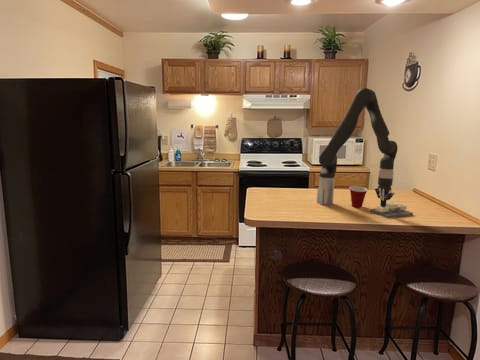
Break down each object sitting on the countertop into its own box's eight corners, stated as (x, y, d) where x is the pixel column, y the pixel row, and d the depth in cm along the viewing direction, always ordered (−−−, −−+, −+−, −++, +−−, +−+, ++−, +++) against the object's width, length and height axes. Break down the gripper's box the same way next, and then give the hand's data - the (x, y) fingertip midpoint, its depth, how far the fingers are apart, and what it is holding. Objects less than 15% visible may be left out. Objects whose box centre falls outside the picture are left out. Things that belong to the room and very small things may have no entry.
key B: (391, 211, 192) (391, 204, 191) (385, 209, 196) (385, 202, 195) (397, 210, 193) (398, 203, 193) (391, 208, 198) (392, 201, 197)
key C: (399, 212, 194) (400, 206, 194) (393, 210, 199) (394, 204, 198) (406, 212, 196) (406, 205, 195) (399, 209, 200) (400, 203, 199)
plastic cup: (350, 209, 204) (351, 189, 201) (345, 204, 214) (347, 185, 212) (368, 209, 203) (370, 190, 201) (363, 204, 214) (364, 186, 211)
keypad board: (387, 218, 186) (388, 211, 185) (369, 211, 199) (370, 204, 198) (412, 215, 192) (413, 208, 191) (394, 208, 205) (394, 202, 204)
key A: (381, 214, 190) (382, 207, 189) (376, 212, 194) (376, 205, 193) (388, 214, 192) (388, 207, 191) (382, 211, 196) (383, 205, 195)
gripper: (371, 175, 194) (369, 204, 197) (389, 179, 181) (386, 210, 185) (382, 174, 196) (379, 203, 200) (400, 178, 184) (397, 209, 187)
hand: (383, 206), depth 192 cm, fingers closed
